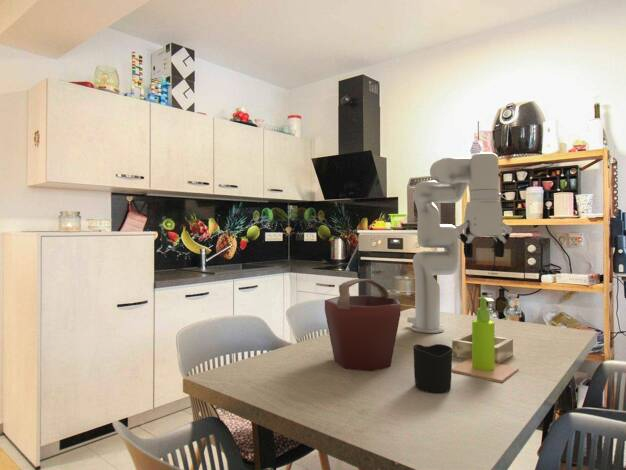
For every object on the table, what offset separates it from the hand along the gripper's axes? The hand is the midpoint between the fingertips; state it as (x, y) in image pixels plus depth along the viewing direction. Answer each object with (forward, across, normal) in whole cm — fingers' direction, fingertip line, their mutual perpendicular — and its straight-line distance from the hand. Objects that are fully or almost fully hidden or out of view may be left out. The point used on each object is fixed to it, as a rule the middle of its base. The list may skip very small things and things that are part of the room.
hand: (483, 257), depth 123 cm
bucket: (+32, +32, -14) cm, 47 cm away
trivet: (+32, +1, +1) cm, 32 cm away
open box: (+32, -8, -12) cm, 35 cm away
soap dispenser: (+32, +1, +1) cm, 32 cm away
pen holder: (+32, +21, +11) cm, 40 cm away
